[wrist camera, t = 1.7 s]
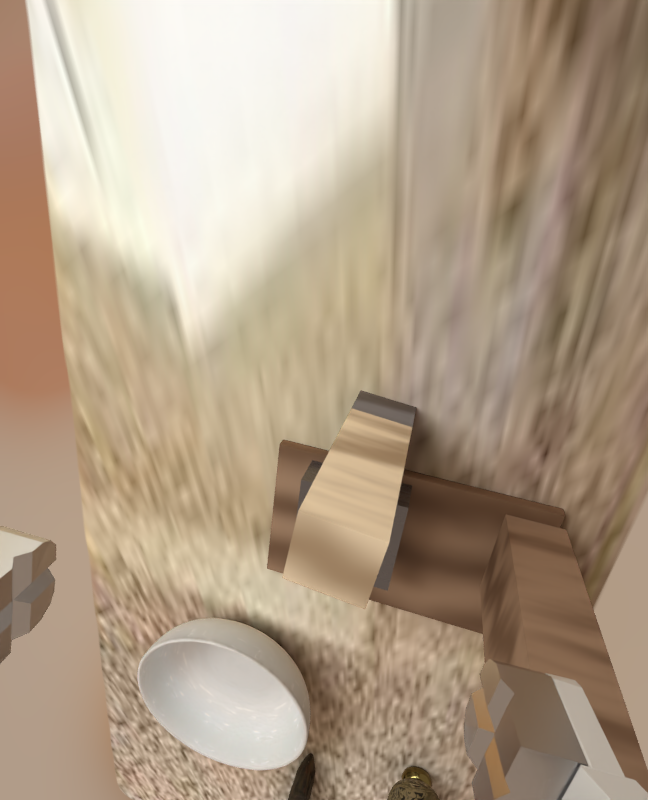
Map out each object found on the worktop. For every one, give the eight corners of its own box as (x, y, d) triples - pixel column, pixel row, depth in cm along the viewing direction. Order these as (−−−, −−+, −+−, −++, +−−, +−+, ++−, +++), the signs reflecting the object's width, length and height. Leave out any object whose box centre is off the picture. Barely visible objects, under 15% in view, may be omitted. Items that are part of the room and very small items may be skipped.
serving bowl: (153, 664, 64) (121, 712, 58) (192, 563, 55) (158, 608, 48) (288, 739, 62) (270, 798, 56) (351, 649, 53) (337, 707, 47)
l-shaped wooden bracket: (283, 439, 45) (110, 672, 22) (569, 510, 40) (710, 895, 18) (270, 562, 51) (126, 838, 29) (515, 635, 46) (569, 1034, 24)
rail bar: (360, 390, 41) (298, 510, 25) (416, 407, 40) (389, 542, 24) (347, 438, 43) (282, 577, 27) (400, 455, 42) (365, 609, 26)
